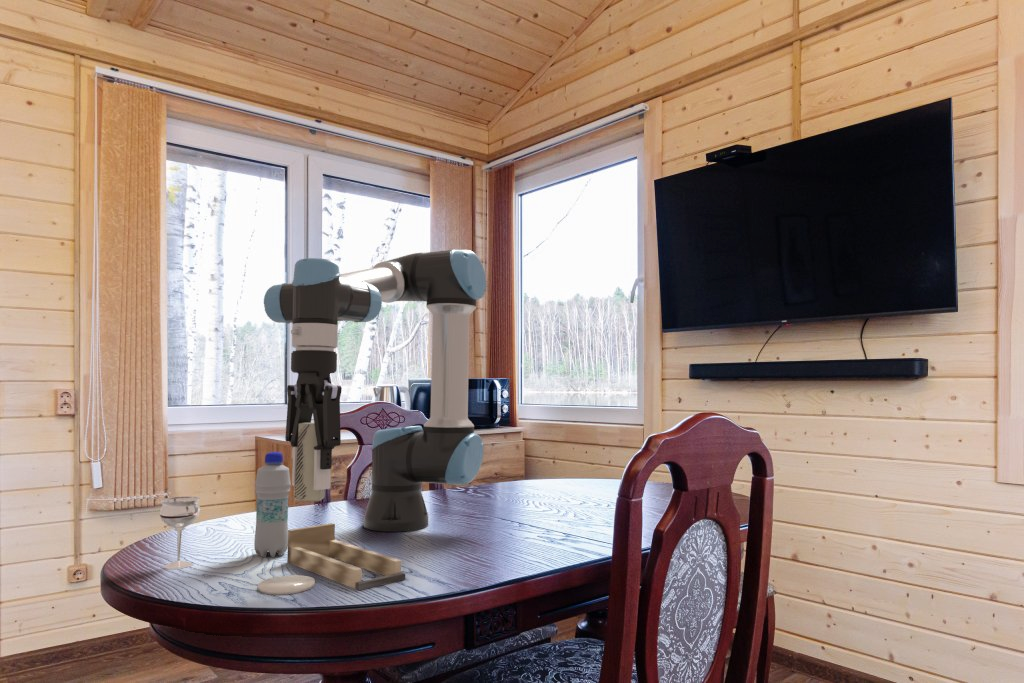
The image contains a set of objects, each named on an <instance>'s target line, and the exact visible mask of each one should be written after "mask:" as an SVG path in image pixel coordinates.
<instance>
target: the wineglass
mask: <svg viewBox="0 0 1024 683" xmlns="http://www.w3.org/2000/svg"><path fill="white" fill-rule="evenodd" d="M200 500H201V497H198V496H173V497H172V496H171V497H167V498H163V499H161V500H160V503H161V505H162V506H161V508H160V510H159V516H160V519H161V521H163V523H165V524H166V525H167V526H169V527H170V528H174V530H175V532H176V533H177V534H176V537H177V538H176V540H177V545H176V546H177V549H176V550H177V555H176V556H177V560H176V561H175V560H174V561H173V562H169V563H166V564H165V565H164V566H163V568H164V569H167V570H168V569H169V570H179V569H184V568H185V569H187V568H189V567H191V566H193V565H194V563H193V562H189V561H184V560H181V549H182V547H181V546H182V535H183V531H184V530H185V528H186V527H188V526H190V525H192V524H193V523H194V522H195V521H196V520H197V519H198V518H199V515H200V512H201V506H200V504H199V501H200Z"/></svg>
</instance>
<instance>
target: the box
mask: <svg viewBox="0 0 1024 683" xmlns="http://www.w3.org/2000/svg"><path fill="white" fill-rule="evenodd" d="M323 441H324V440H323ZM315 446H317V439H316V432H315V425H314V422H311V423H300V424H299V428H298V446H297V461H296V477H295V486H294V497H293V500H294V502H320V501H322V500H323V499H324V498H325V497H326V496H325V494H326V492H325V491H326V489H323V490H313V488H314V450H315V449H314V447H315Z"/></svg>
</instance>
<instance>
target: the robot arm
mask: <svg viewBox="0 0 1024 683" xmlns="http://www.w3.org/2000/svg"><path fill="white" fill-rule="evenodd" d="M292 278H293V279H292V283H286V282H285V283H280V284H274V285H271V286H270V287H269V288H268V289H267V290H266V292H265V294H264V297H263V305H264V306H263V307H264V311H265V314H266V315H267V317H268V319H270V320H271V321H273V322H274V323H281V324H286V325H287V324H291V323H292V324H291V325H292V329H291V330H290V333H291V347H292V348H294V349H295V350H293V351H292V352H291V353H290V354H291V355H290V371H291V372H292V373H293V374H295V373H296V374H297V379H296V383H295V384H288V385H287V387H286V392H287V407H286V408H287V409H286V410H287V412H286V422H285V423H286V424H285V438H284V439H285V442H287V443H290V446H291V447H292V465H291V466H292V467H291V468H292V471H291V472H292V473H291V486H293V487H295V477H296V461H297V446H298V428H299V424H300V423H312V418H313V423H314V425H315V432H316V439H317V446H315V447H314V449H315V450H314V488H313V490H323V489H325V490H330V489H331V482H332V481H331V480H332V478H331V476H332V461H333V460H332V456H333V454H332V452H333V449H335V447H339V446H341V443H342V441H341V438H342V437H341V396H342V395H341V394H342V391H343V390H342V386H341V385H337V384H335V385H334V384H332V379H331V374H335V373H336V372H337V370H338V353H337V351H335V349H337V348H338V343H339V342H338V336H339V335H338V334H339V333H338V331H339V324H338V323H339V322H347V321H348V322H354V323H369V322H371V321H373V320H375V319H376V318H377V317H378V316H379V314H380V312H381V310H382V304H383V303H385V304H388V303H394V302H426V306H425V307H426V309H427V310H428V311H429V312H430V313H431V315H432V328H431V329H432V332H431V333H432V335H431V376H430V378H431V379H430V384H431V385H430V415H429V416H430V417H429V419H427V421H426V422H425V423H424V424H423V427H422V425H411V426H405V427H404V426H403V427H394V428H387V429H386V428H385V429H379V430H377V431H375V432H374V433H373V437H372V445H371V446H372V447H371V452H372V453H371V457H372V458H371V493H370V494H371V495H370V497H369V499H368V503H367V506H366V509H365V514H364V515H363V528H365V529H366V530H371V531H377V532H408V531H416V530H419V529H423V528H426V527H427V526H428V525H429V513H428V511H427V510H428V509H427V506H426V503H425V500H424V496H423V493H422V483H423V484H424V483H425V484H428V483H429V484H439V485H441V484H442V485H448V486H453V485H456V486H457V485H460V486H462V485H463V486H464V485H468V484H470V483H471V482H472V481H473V480H474V479H475V478H476V477H477V475H478V473H479V472H480V469H481V467H482V463H483V459H484V450H485V449H484V448H485V447H484V443H483V439H482V437H481V436H480V435H479V434H477V433H475V425H474V423H473V422H472V421H471V420H470V419H469V414H468V413H469V373H470V372H469V367H470V365H469V362H470V360H469V358H470V318H471V317H470V316H471V314H472V313H474V311H475V310H477V300H480V299H482V298H484V296H485V295H486V294H485V292H486V291H487V277H486V271H485V268H484V265H483V263H482V261H481V259H480V258H479V256H478V255H477V254H476V253H475V252H474V251H472V250H470V249H455V248H453V249H449V250H438V251H428V252H415V253H411V254H406V255H404V256H399V257H396V258H392V259H389V260H386V261H381V262H378V263H376V264H375V265H373V266H372V268H368V269H367V268H366V269H362V270H357V271H351V272H346V273H340V266H339V264H338V262H336V261H334V260H332V259H328V258H320V257H318V258H317V257H313V258H312V257H310V258H309V257H308V258H307V257H306V258H300V259H299V260H297V261H296V262H295V264H294V270H293V277H292ZM323 440H324V441H323Z"/></svg>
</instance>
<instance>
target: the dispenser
mask: <svg viewBox="0 0 1024 683" xmlns="http://www.w3.org/2000/svg"><path fill="white" fill-rule="evenodd" d="M335 528H336V524H335V523H332V522H331V523H330V522H329V523H326V524H318V525H312V526H305V527H299V528H292V529H288V547H287V563H288V564H290V565H292V566H296V567H298V568H300V569H303V570H305V571H309V572H311V573H313V574H317V575H319V576H322V577H324V578H326V579H329V580H331V581H334V582H337V583H339V584H342V585H344V586H347V587H350V588H352V589H355V590H357V591H362V590H366V589H370V588H374V587H379V586H383V585H387V584H392V583H396V582H400V581H405V580H406V572H402V560H401V559H398V558H395V557H392V556H390V555H389V556H388V555H385V554H382V553H379V552H377V551H372V550H369V549H365V548H363V547H360V546H356V545H353V544H350V543H347V542H344V541H340V540H337V539H335V536H336V529H335ZM362 569H364V570H367V571H370V572H373V573H376V574H378V575H383V576H379V577H376V578H371V579H366V580H362V578H363V577H362V576H363V575H362V574H363V572H362V571H363V570H362Z"/></svg>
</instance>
